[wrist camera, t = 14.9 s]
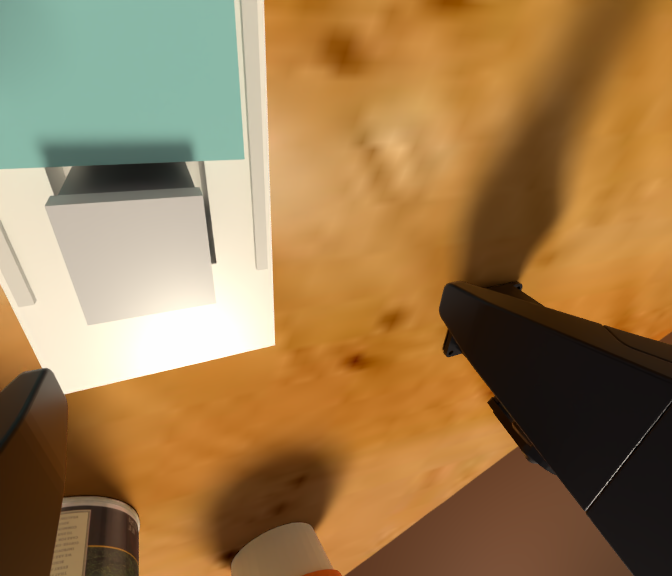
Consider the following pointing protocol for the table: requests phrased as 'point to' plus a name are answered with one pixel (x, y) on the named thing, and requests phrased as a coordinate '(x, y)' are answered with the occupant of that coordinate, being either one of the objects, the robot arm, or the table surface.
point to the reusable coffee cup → (284, 554)
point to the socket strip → (168, 327)
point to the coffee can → (96, 538)
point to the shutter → (118, 82)
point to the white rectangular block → (133, 239)
